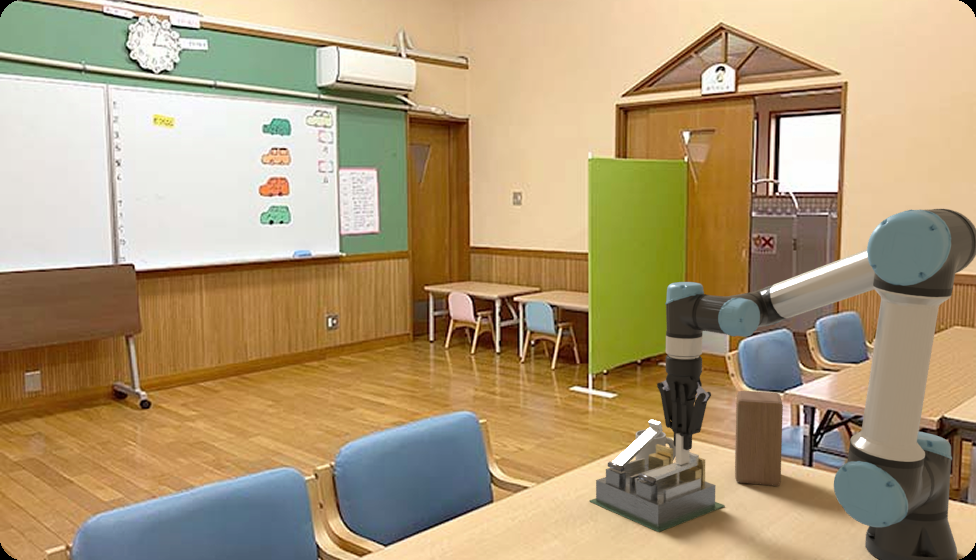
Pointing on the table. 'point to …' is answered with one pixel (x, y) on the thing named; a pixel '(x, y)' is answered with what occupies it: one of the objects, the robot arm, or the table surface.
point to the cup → (654, 445)
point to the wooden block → (758, 438)
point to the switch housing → (657, 492)
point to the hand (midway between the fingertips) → (682, 462)
